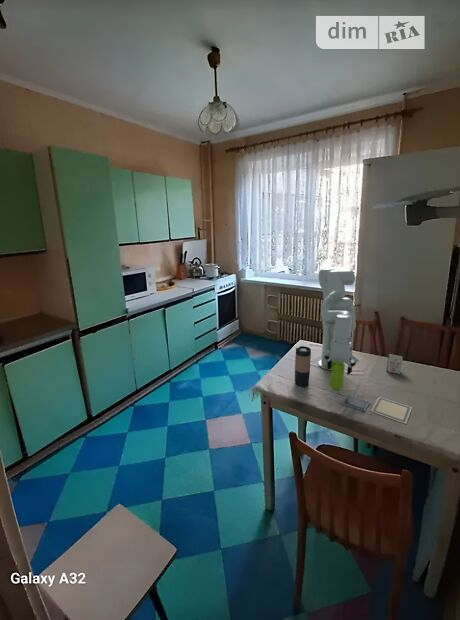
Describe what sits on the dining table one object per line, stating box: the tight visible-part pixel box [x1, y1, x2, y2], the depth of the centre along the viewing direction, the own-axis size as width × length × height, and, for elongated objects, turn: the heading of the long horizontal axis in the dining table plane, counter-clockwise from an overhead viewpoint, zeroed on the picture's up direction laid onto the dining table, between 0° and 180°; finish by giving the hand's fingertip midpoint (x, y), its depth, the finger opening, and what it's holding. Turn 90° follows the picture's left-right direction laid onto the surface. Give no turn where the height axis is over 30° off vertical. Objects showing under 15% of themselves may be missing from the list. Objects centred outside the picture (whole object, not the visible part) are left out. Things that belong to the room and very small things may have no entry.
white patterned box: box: [385, 353, 404, 375], centre depth 161 cm, size 4×7×10 cm, turn 55°
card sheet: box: [370, 396, 413, 425], centre depth 131 cm, size 14×14×1 cm
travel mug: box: [294, 345, 312, 388], centre depth 151 cm, size 8×8×20 cm
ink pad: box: [341, 394, 371, 413], centre depth 135 cm, size 8×10×1 cm
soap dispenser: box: [330, 360, 346, 390], centre depth 147 cm, size 6×7×20 cm
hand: (339, 370), depth 146 cm, fingers open, 9 cm apart
